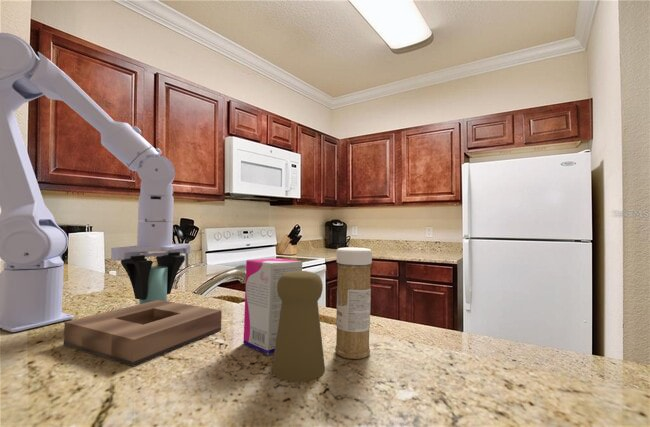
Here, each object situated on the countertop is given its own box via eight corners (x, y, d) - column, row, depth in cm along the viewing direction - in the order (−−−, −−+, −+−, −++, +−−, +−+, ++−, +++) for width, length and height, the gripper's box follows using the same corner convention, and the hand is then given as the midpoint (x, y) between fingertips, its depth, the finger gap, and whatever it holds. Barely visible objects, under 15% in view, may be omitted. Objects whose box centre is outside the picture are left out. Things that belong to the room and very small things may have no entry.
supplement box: (302, 343, 44) (303, 260, 45) (267, 356, 40) (269, 263, 40) (275, 333, 48) (277, 256, 48) (241, 343, 44) (243, 259, 44)
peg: (133, 313, 57) (134, 268, 58) (155, 307, 61) (156, 265, 62) (150, 316, 56) (151, 270, 56) (171, 310, 60) (173, 267, 60)
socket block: (63, 344, 42) (64, 321, 42) (158, 317, 55) (158, 299, 55) (133, 366, 36) (134, 339, 37) (221, 330, 49) (221, 310, 49)
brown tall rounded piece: (318, 385, 33) (320, 277, 33) (263, 378, 34) (265, 274, 35) (329, 360, 39) (331, 269, 39) (282, 355, 40) (283, 267, 40)
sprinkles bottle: (332, 346, 43) (334, 246, 44) (365, 345, 44) (367, 246, 44) (338, 361, 39) (339, 249, 39) (375, 360, 39) (376, 249, 40)
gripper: (131, 221, 51) (128, 308, 50) (202, 222, 64) (200, 291, 64) (104, 220, 54) (101, 302, 53) (177, 221, 67) (175, 287, 66)
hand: (153, 296), depth 59 cm, fingers closed on peg, 4 cm apart
